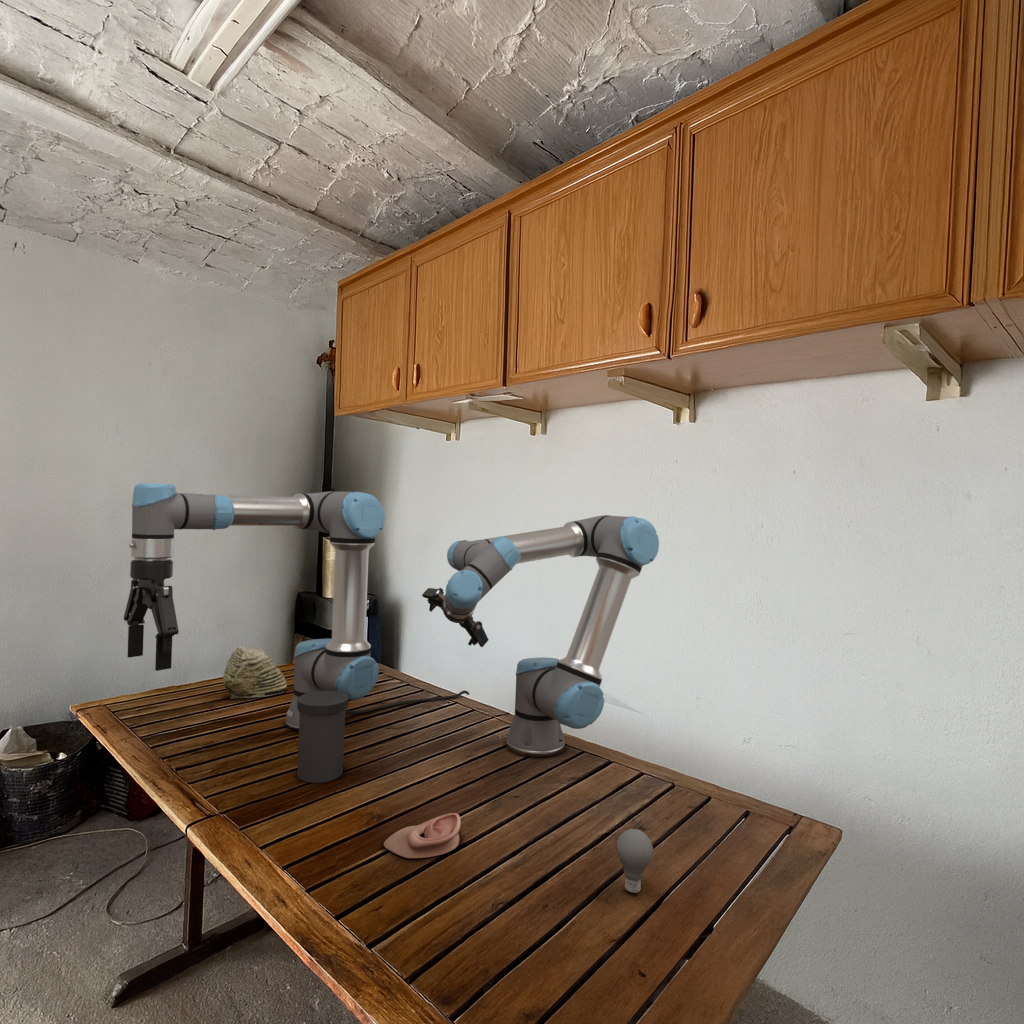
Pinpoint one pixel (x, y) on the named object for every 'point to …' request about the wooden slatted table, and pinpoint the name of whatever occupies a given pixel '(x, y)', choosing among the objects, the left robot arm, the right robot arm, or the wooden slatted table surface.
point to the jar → (320, 747)
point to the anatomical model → (426, 838)
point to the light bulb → (634, 857)
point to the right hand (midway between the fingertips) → (452, 624)
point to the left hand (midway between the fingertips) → (148, 662)
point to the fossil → (252, 674)
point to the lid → (322, 702)
